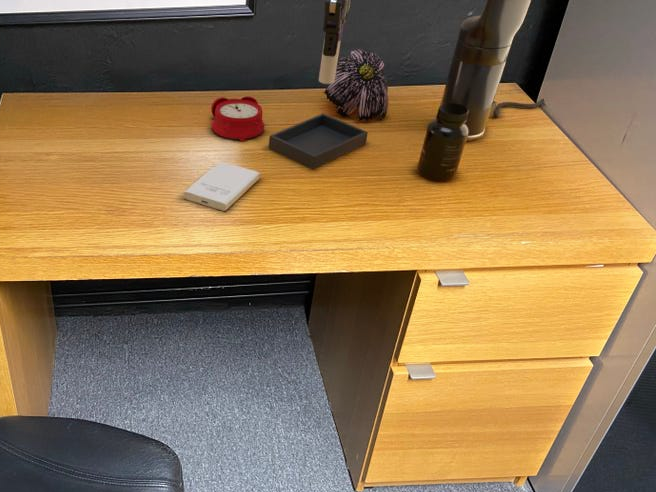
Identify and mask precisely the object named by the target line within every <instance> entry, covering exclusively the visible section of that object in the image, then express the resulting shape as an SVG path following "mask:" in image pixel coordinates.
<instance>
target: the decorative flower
mask: <svg viewBox="0 0 656 492" xmlns="http://www.w3.org/2000/svg"><path fill="white" fill-rule="evenodd" d="M384 68H385V63H384V61H383V60H382V58H381V57H380V56H379V55H378V54H377V53H376V52H374V51H372V50H369V49H364V48H363V49H362V48H361V49H359V48H358V49H355V50H352V51H351V50H350V52H349V55H345V56H341V57H338V62H337V68H336V75H335V81H334V83H332V84H328V86H327V87H326V88H325V90H324V92H323V94H324V95H326V100H328V101H329V103H332V104H333V105H334V106H335V107H336V110H337V111H336V114H338V115H339V116H340V117H342V118H347V117H349V116H351V115H352V114H353V113H355V111H356V110H358V111H357V117H358V122H361V121H363V120H364V121H367V122H369V121H372V120H373V119H374V118H375V119H376V118H379V117H380V120H383V119H385V117H386V116H387V113H388V108H389V94H388V92H389V84H388V78H387V76H386V74H385V72H384V70H383V69H384Z"/></svg>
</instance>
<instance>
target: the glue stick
mask: <svg viewBox="0 0 656 492" xmlns="http://www.w3.org/2000/svg"><path fill="white" fill-rule="evenodd" d="M330 24H331V25H336V23H335V22H331V21H330ZM343 25H344V26H345V24H344V22H343V21H342V24H341V32H340V34H339V39H338V46H337V52H336V55H335V56H334V57H331V56H324V55H323V51H322V53H321V59H320V60H321V61H320V67H319V74H318V82H319V83H321V84H324V85H330V84H332V83H334V81H335V75H336V68H337V62H338V58H339V55H340V47H341V42H342V38H343V30H344V26H343ZM325 35H326V33H325V32H324V36H323V38H324V39H323V43H324V42H325ZM323 49H324V44H323V46H322V50H323Z"/></svg>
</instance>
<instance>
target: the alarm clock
mask: <svg viewBox="0 0 656 492" xmlns="http://www.w3.org/2000/svg"><path fill="white" fill-rule="evenodd" d="M262 108H263V107H262V106H261V105H260V104H259V102H258V100H257V99H256V98H255V97H253V96H250V95H247V96H243V97H241V98H227V97H223V96H222V97H218V98H216V99H214V100H213V102H212V103H211V107H210V109H211V110H210V111H211V114H212V116H213V117H214V119H213V121H212V122H211V128H212V131H213V132H214V133H215V134H217V135H218V136H221V137H224V138H227V139H234V140H239V142H240V143H241V142H246V139H250V138H254V137H257V136H259V135H261V134H262V133H263V132H264V131H265V123H264V121H263V113H264V112H263V111H264V110H263V109H262Z"/></svg>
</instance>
